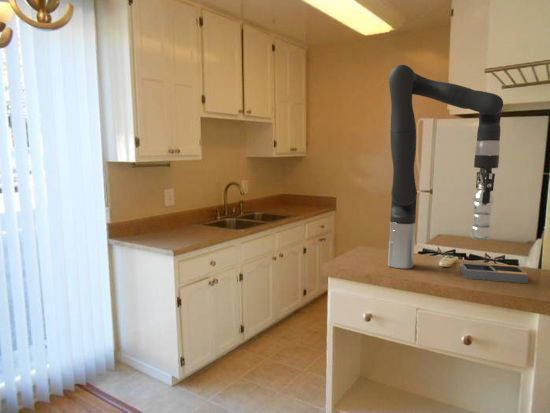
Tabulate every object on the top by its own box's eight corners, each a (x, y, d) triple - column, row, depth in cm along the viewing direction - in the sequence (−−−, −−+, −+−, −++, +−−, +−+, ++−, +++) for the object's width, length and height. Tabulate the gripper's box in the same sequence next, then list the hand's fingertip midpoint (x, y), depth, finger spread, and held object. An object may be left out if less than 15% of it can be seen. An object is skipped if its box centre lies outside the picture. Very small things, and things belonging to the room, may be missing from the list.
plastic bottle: (493, 242, 137) (498, 184, 134) (472, 241, 138) (476, 184, 136) (487, 238, 143) (491, 183, 141) (467, 237, 144) (471, 183, 142)
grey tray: (466, 278, 138) (467, 269, 138) (460, 270, 148) (460, 262, 148) (527, 283, 134) (528, 273, 133) (516, 274, 144) (517, 265, 143)
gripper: (470, 154, 145) (466, 199, 147) (480, 153, 131) (476, 203, 133) (492, 154, 143) (489, 200, 145) (505, 154, 129) (501, 204, 131)
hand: (483, 201), depth 139 cm, fingers closed on plastic bottle, 6 cm apart
